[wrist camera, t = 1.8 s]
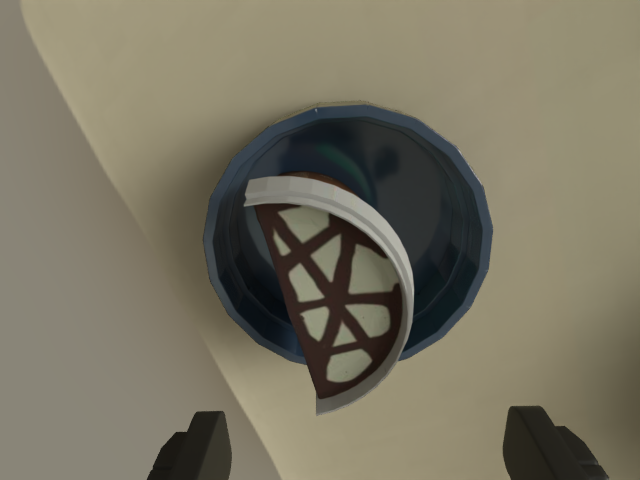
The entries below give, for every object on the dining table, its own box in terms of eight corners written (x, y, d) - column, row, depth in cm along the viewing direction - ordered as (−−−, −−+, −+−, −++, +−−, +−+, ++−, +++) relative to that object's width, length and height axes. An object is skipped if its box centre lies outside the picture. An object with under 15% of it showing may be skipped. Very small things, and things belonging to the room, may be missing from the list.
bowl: (208, 108, 25) (180, 114, 20) (474, 93, 24) (508, 96, 19) (241, 329, 31) (225, 373, 26) (454, 322, 30) (477, 367, 25)
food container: (405, 297, 28) (442, 402, 19) (322, 314, 29) (319, 424, 20) (369, 125, 24) (394, 152, 15) (273, 150, 25) (239, 192, 16)
